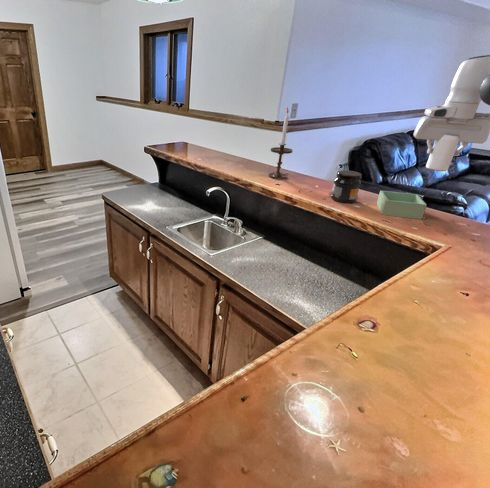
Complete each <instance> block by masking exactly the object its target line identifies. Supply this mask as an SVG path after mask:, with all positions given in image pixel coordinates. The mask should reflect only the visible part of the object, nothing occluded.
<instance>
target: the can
mask: <svg viewBox="0 0 490 488" xmlns="http://www.w3.org/2000/svg"><path fill="white" fill-rule="evenodd" d="M458 136H459V135H448V134H444V136H443V137H442V138H441V139H440V140H434V142H433V144H432V148H433V149H434V150H433V153H432V154H429V156H428V159H427V160H426V161H427V162H426V164H425V167H426V169H427V170H430V171H436V172H447V170H448V171H449V168H450V165H451V163H452V161H453V158H454V157H455V156H454V153H455V151H456V150H457V149H458V147H459V146H458V145H459V144H460V142H459V137H458Z"/></svg>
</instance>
